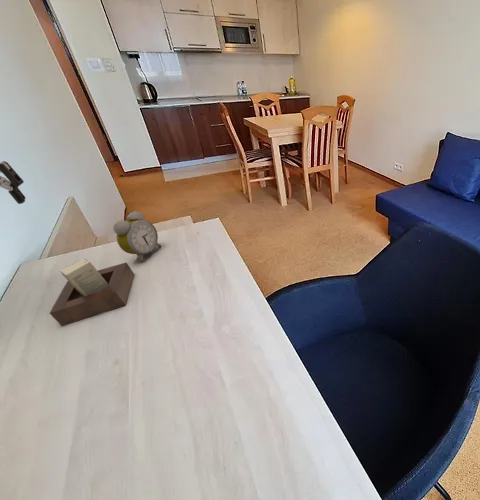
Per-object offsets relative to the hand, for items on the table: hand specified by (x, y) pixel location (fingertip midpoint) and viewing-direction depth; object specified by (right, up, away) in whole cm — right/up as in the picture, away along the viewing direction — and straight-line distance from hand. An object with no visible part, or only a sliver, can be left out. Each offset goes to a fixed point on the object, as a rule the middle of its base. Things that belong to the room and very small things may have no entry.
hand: (2, 207), depth 79 cm
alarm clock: (+19, -13, +27) cm, 36 cm away
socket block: (+18, -25, +10) cm, 32 cm away
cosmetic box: (+18, -26, +10) cm, 33 cm away
